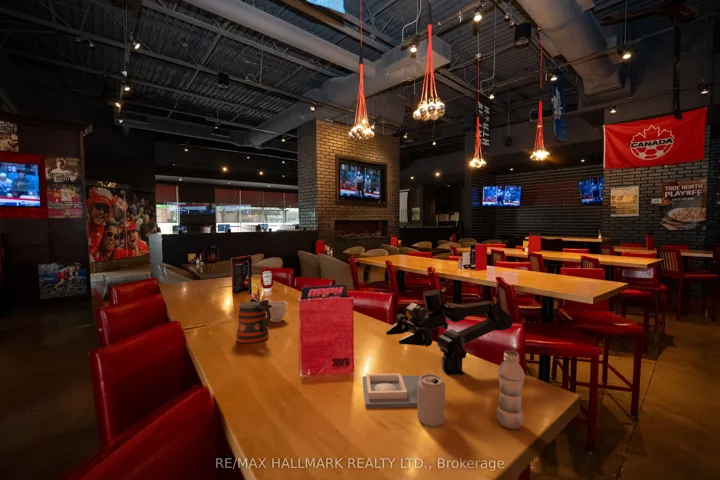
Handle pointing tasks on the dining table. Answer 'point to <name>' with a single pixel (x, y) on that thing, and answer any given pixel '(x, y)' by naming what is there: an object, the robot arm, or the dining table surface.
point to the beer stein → (253, 321)
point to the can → (431, 400)
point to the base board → (390, 390)
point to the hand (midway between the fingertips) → (392, 337)
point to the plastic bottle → (510, 391)
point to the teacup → (277, 310)
